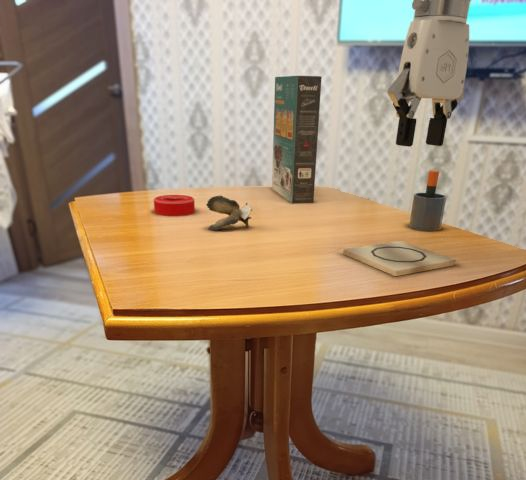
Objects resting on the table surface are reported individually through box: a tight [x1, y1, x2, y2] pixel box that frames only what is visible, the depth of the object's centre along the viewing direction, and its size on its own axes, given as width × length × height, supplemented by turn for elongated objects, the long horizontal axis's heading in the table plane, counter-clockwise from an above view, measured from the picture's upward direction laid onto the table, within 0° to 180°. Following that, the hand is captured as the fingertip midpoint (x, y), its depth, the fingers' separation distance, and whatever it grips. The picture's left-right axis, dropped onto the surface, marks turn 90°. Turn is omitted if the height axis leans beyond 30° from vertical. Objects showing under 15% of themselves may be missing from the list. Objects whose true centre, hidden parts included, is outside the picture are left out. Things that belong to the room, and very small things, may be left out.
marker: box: [425, 169, 440, 198], centre depth 111 cm, size 2×2×12 cm
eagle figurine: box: [206, 195, 253, 231], centre depth 109 cm, size 8×7×9 cm
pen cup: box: [408, 192, 447, 232], centre depth 113 cm, size 7×7×7 cm
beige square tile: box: [342, 240, 457, 277], centre depth 91 cm, size 14×14×1 cm
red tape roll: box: [153, 194, 196, 217], centre depth 123 cm, size 10×10×3 cm
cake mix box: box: [271, 75, 323, 204], centre depth 139 cm, size 22×6×30 cm, turn 13°
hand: (419, 144), depth 82 cm, fingers open, 5 cm apart
